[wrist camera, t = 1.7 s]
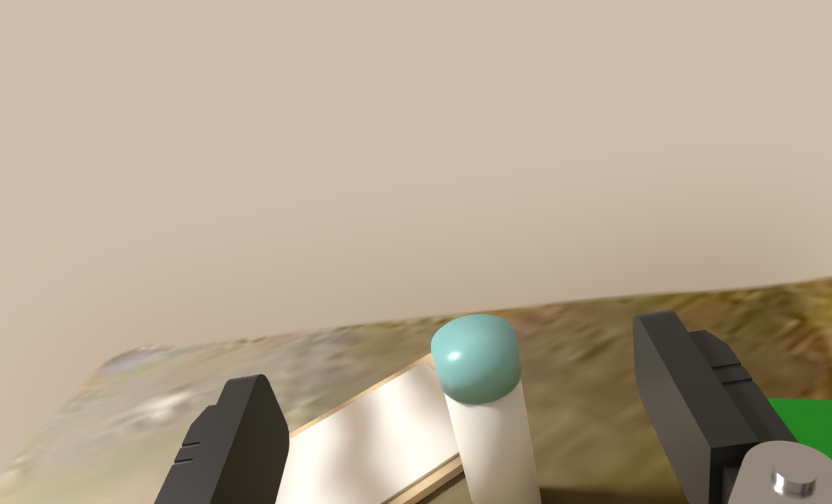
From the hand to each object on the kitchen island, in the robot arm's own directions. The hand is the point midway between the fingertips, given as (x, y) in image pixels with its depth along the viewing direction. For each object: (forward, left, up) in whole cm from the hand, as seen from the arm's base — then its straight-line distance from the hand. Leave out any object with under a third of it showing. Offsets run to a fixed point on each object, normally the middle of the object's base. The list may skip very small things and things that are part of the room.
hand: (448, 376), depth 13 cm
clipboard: (-1, -18, -20) cm, 27 cm away
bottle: (-6, -9, -20) cm, 23 cm away
